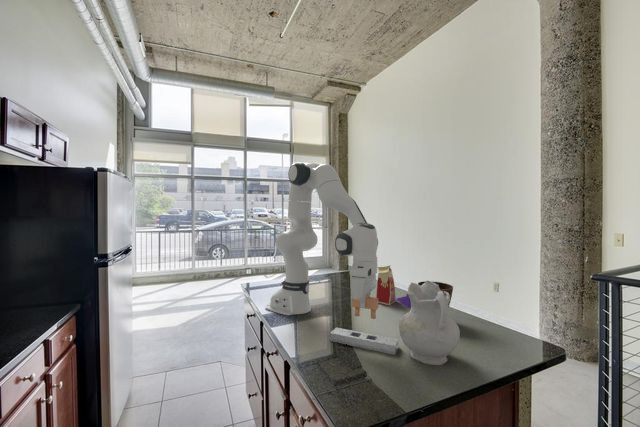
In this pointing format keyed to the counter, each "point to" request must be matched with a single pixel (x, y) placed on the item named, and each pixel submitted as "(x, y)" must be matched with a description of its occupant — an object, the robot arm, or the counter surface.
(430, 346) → the ceramic pitcher
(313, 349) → the counter surface
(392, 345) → the rail
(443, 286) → the plant pot
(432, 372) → the counter surface
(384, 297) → the red paper bag
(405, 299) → the purple cone
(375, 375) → the counter surface
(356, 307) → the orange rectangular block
